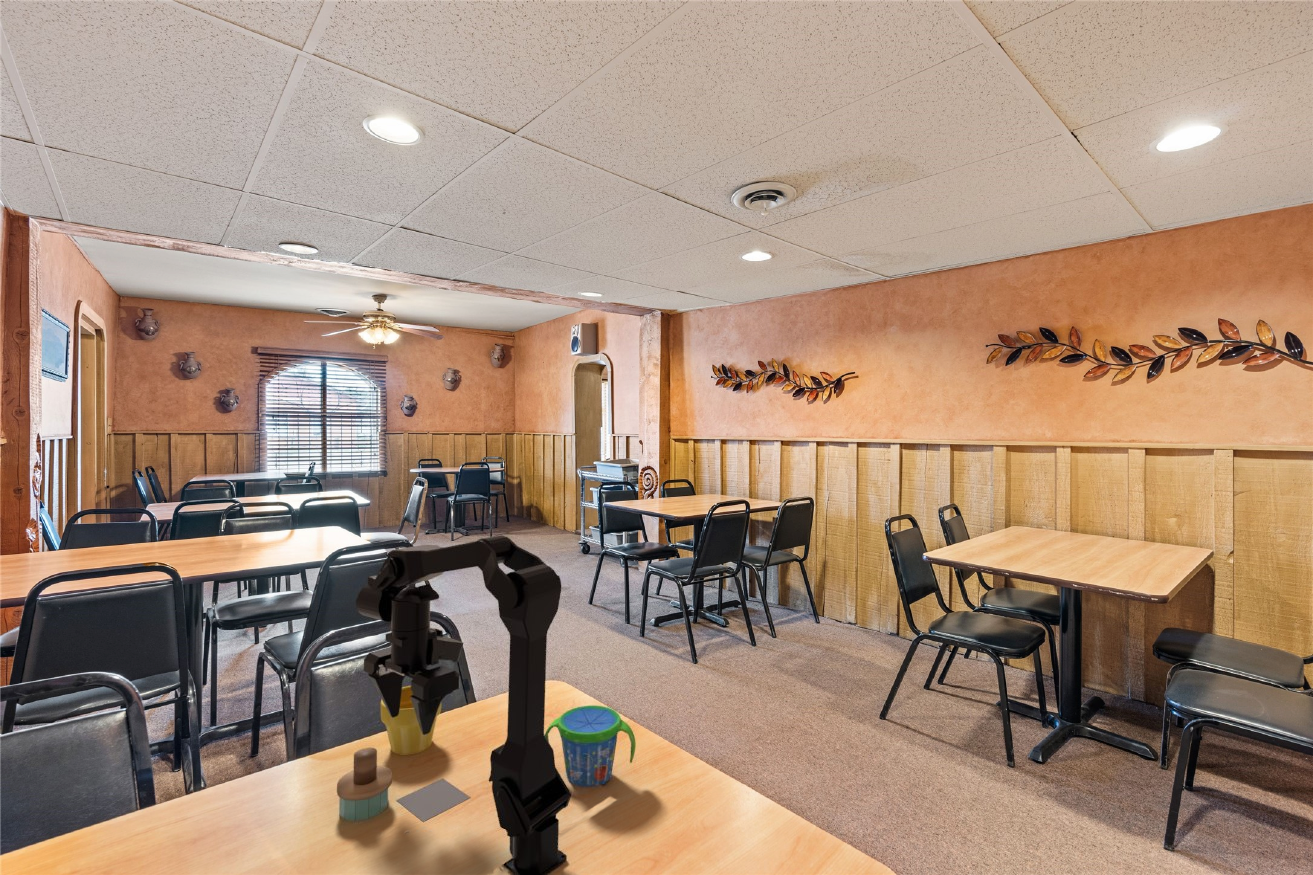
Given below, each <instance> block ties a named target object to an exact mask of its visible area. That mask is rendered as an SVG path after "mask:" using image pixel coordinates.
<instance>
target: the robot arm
mask: <svg viewBox="0 0 1313 875" xmlns="http://www.w3.org/2000/svg"><path fill="white" fill-rule="evenodd" d="M500 564H503V565H504V566H505V567H507V568H508V569H510V570H513V571H511V572H508V573H505V572H504V570H503V569H502V568H501V567H500V566H499V565H500ZM475 567H477V568H478V569H479V570H480V571H481V573H482V578H483V582H484V587H485V589H486V590H487V591H488V592H489V593H490V594H491V595H492V596H493V597H494V599H495V600H496V601H497V605H498V606H497V607H498V615H499V619H500V620H501V622H502V624H503V625H504V626H505V628H506V630H507V631H508V634H509V662H508V665H509V666H508V696H507V697H508V698H507V699H508V700H507V701H508V702H507V729H506V730H507V734H506V740H505V741H504V743H503V744H502V745H500V746H498V747H496V748H494V749H493V750H492V751H491V753H490V775H489V778H488V781H489V783H491V792H492V796H493V801H494V805H495V811H496V814H497V819H498V823H499V827H500V828H501V829H502V830H505V831H506V835H507V837H509V851H510V855H511V856H512V858H511V859H509V860H507V861H505V862H504V863H503V864H502V866H504V867H505V868H506V869H507V870H508V871H510V872H511V873H513V875H548V874H549V873H551V872H552V871H554V870H555V869H556V868H558V867H559V866H561V865H562V864H564V863H565V862H566V861H567V860H568V858H567V854H565V853H564V852H563V851H561V850H560V849H559V830H560V828H559V824H560V822H559V821H560V820H559V819H558V818H557V814H558V813H560V812H561V811H562V810H564V809H566V808H567V807H568V806H569V803H570V800H571V798H572V793H571V791H570V789H569V787H568V786H567V785H566V782H565V781H564V779H563V778H562V776H561V774H560V773H559V771H558V769H557V767H556V762H555V751H554V749H553V747H552V745H551V743H550V741H549V742H548V740H547V739H546V737H545V715H546V714H545V712H546V710H545V708H546V707H545V706H546V674H547V672H546V671H547V646H548V645H547V641H548V640H547V639H548V631H549V629H550V627H551V625H552V623H553V621H554V619H555V617H556V615H557V612H558V610H559V606H560V599H561V593H562V580H561V578H560V575H558V574H557V573H556V571H555V570H554V568H552V567H551V566H550V565H547V563H545V561H543V560H542V559H541V558H540V557H539V556H538V555H536V554H534V553H531V552H529V551H527V550H526V549H524V548H522V547H520V546H518V545H517V544H516V543H515V542H514V541H513V540H512V539H511V538H510V537H508V536H505V535H502V534H499V535H494V536H487V537H483V538H482V537H481V538H479V539H477V540H476V541H472V542H471V541H470V542H465V543H461V544H457V545H456V544H455V545H451V546H450V545H449V546H446V547H442V546H439V545H437V544H421V545H416V546H409V547H403V548H397V549H392V550H390V551H388V553H387V554H386V559H385V560H384V561H383V564H382V566H380V569H379V571H378V573H377V575H371V576H368V577H367V584H366V585H364V586H363V587H362V588H361V590H360V591H359V593H358V595H357V598H356V599H355V607H356V611H358V613H359V614H360V615H362V616H364V617H367V618H372V619H375V620H380V621H383V622H386V623H388V622H389V623H390V632H389V633H386V634H385V641H386V642H388V643H390V646H388V647H384V648H381V649H378V650H373V651H370V652H369V653H368V654H367V655H366V656H365V657H364V659H363V672H365V673H366V674H367V673H368V674H367V677H368V678H369V679H370V680H371V683H372V684H373V685H374V687H375V689H376V691H377V693H378V694H379V696H380V698H381V700H383V702H384V704H385V706H386V708H387V710H388V712H389V714H390V716H391V717H392V718H393V717H396V716H398V715H399V709H400V701H401V691H402V687H403V680H405V677H407V678H411V681H410V686H411V690H412V692H413V695H412V696H410V697H411V700H412V704H413V707H414V710H415V713H416V717H417V720H418V723H419V726H420V729H421V732H422V734H423V735H426V734H428V733H430V731H431V728H432V725H433V722H434V719H435V716H436V714H437V711H438V708H439V706H440V703H441V701H443V699H444V698H445V697H446V696H447V695H450V694H452V693H453V692H454V691H456V690H457V691H458V690H459V689H460V687H461V674H460V673H459V672H457V671H456V669H452V668H450V667H447V666H445V665H440V666H436V667H433V668H430V669H428V667H429V666H435V665H439V663H440V661H439V660H442V661H452V662H453V663H458V662H459V660H460V656H461V653H462V650H463V647H464V642H463V641H460V640H457V639H456V638H451V637H447V636H444V631H443V630H442V629H439V628H436V627H435V628H434V627H431V601H435V600H439V599H440V594H439V593H438V592H437V591H436V590H435V589H434V588H433V587H432V586H431V584H430V583H427V584H423V585H419V586H413V585H415V584H419V583H422V582H425V581H426V582H427V581H429V580H433V579H434V578H437V577H439V576H441V575H442V576H443V574H444V573H446V572H451V571H457V570H463V569H464V570H465V569H469V568H470V569H471V568H475ZM411 585H412V586H411Z"/></svg>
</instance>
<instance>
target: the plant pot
mask: <svg viewBox="0 0 1313 875" xmlns="http://www.w3.org/2000/svg"><path fill="white" fill-rule="evenodd" d="M412 695H413V692H412V690H411V685H407V686H402V691H401V701H400V709H399V715H398V716H396V717H393V718H392V717H391V716H390V714H389V712H388V710H387V708H386V706H385V704H384V702H383V700H382V699H381V700H380V719H381V722H382V723H383V724H384V725H385V728H386V733H387V737H388V741H389V745H390V750H391V752H393V754H396V755H402V756H405V755H406V756H407V755H414V754H419V753H421V752H424V751H426V750H427V749H428V748H429V747H430V746H431V745H432V742H433V739H434V738H433V737H434V732H435V727H436V723H437V718H438V716H439V715H440V713H442V704H443V703H442V701H443V700H442V701H441V703H440V706H439V708H438V711H437V714H436V716H435V719H434V722H433V725H432V728H431V731H430V733H428V734H426V735H423V734H422V732H421V729H420V726H419V723H418V720H417V717H416V713H415V710H414V707H413V704H412V700H411V697H410V696H412Z"/></svg>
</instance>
